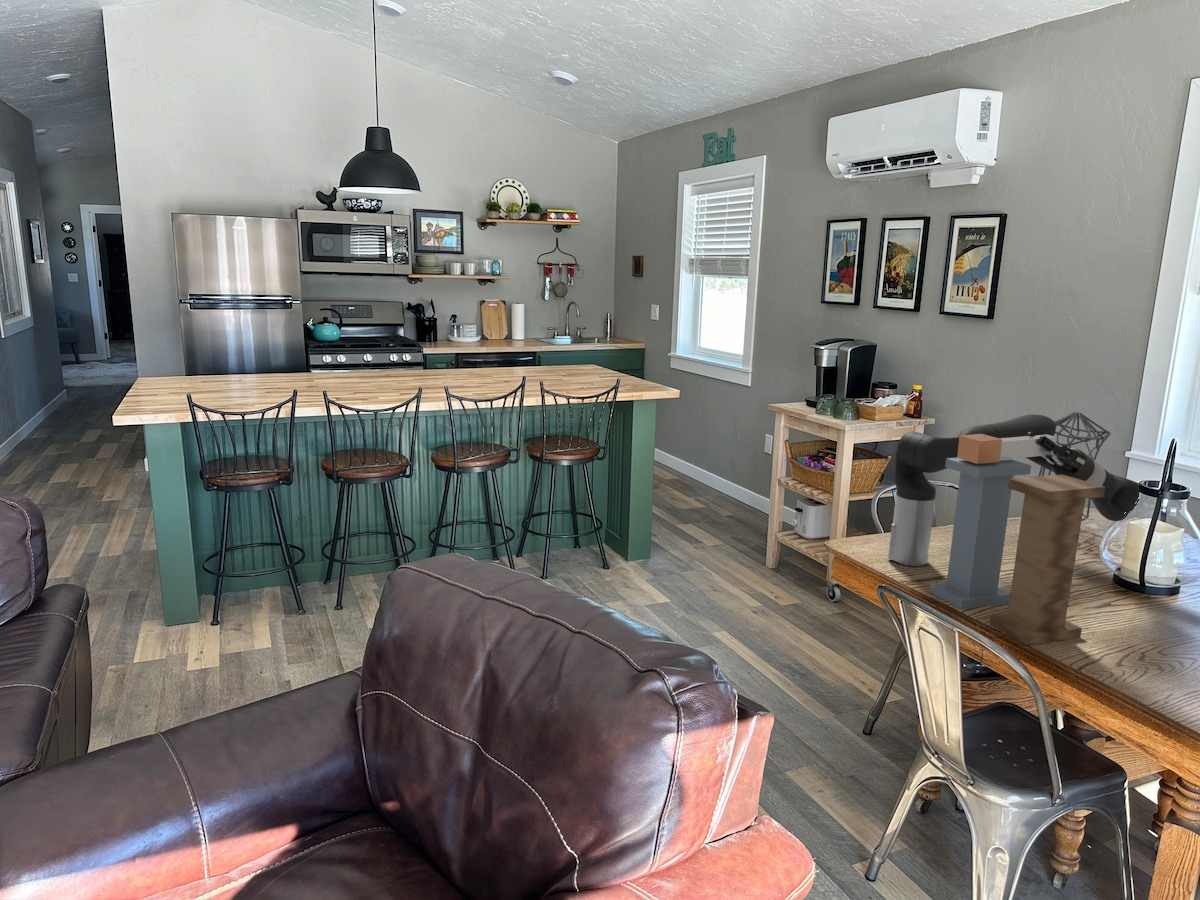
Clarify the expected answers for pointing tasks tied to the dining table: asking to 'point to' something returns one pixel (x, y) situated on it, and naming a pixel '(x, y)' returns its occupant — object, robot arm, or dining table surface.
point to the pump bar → (999, 448)
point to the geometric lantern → (1080, 438)
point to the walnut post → (1045, 558)
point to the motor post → (979, 533)
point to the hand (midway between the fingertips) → (1033, 437)
